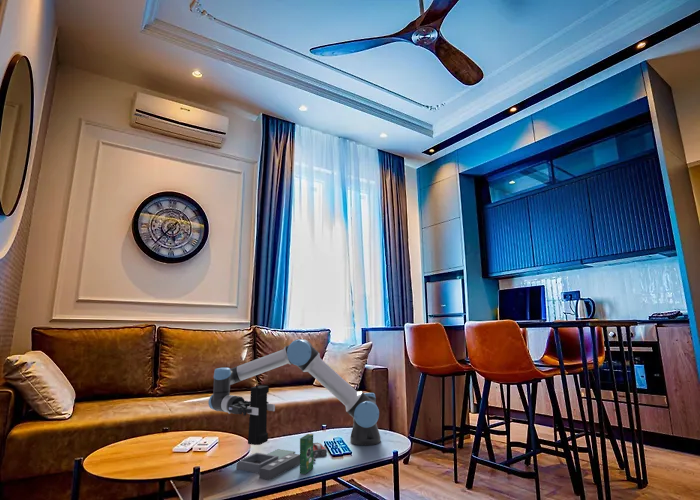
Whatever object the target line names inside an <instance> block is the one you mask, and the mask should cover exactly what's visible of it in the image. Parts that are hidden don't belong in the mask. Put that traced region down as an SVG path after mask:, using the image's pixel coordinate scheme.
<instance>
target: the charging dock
mask: <svg viewBox="0 0 700 500" xmlns="http://www.w3.org/2000/svg"><path fill="white" fill-rule="evenodd" d="M243 458H244V459H243ZM243 458H241V459H242V460H241V459H240V460H241V461H239V462H238V463H237V462H236V470H239V471H244V472H249V473H256V474H258V475H259V477H258V479H262V480H266V481H271V480H273V479H274V478H276V477H278V476H280V475H283V473H285V472H287V471H289V470H291V469H293V468H295V467H296V466H298V465H300V453H299V454H298V453H294V454H293V453H290V454H288V455H286V456H284V457H282V458H280V459H278V456H274V455H268V453H262V452H255V453H252V454H250V455H248V456H246V457H243ZM256 462H257V463H256ZM258 462H260V463H258Z"/></svg>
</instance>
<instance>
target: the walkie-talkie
mask: <svg viewBox="0 0 700 500" xmlns="http://www.w3.org/2000/svg"><path fill="white" fill-rule="evenodd" d="M327 453H328V451H327V448H325V447H324V446H323V444H321V443H320V442H313V462H316V458H317V457H318V458H319V457H326V456H327V455H328V454H327Z"/></svg>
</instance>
